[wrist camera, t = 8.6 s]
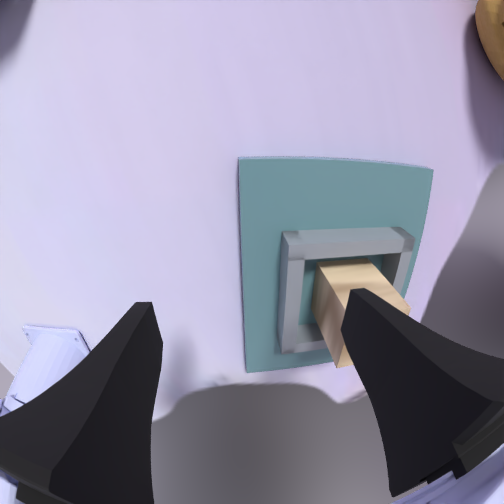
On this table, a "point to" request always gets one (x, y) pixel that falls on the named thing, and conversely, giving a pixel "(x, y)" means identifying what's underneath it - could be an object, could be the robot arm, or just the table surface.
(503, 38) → the pot
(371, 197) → the dock
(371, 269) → the peg
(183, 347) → the table surface
